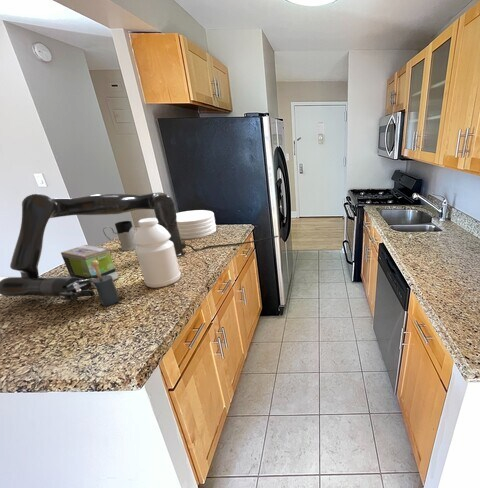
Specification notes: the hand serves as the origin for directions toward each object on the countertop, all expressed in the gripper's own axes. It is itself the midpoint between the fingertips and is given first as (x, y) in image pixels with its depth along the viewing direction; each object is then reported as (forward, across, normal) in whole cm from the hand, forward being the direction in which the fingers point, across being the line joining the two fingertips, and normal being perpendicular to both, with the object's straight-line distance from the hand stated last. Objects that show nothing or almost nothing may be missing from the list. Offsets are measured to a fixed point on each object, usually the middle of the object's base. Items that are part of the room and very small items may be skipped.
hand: (103, 286), depth 98 cm
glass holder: (-33, +52, +7) cm, 62 cm away
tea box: (-18, +16, +7) cm, 25 cm away
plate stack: (-7, +82, +7) cm, 82 cm away
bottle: (+12, +17, +7) cm, 21 cm away
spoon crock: (+1, 0, +6) cm, 7 cm away
